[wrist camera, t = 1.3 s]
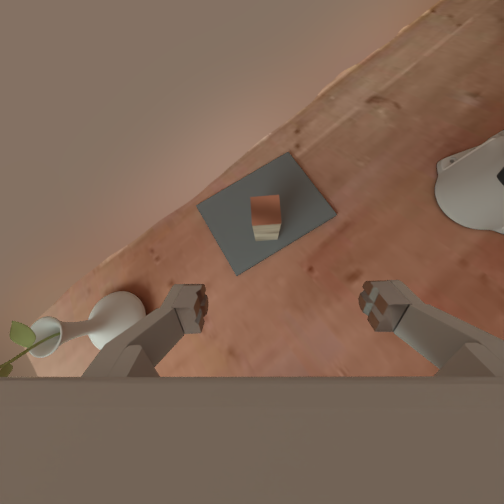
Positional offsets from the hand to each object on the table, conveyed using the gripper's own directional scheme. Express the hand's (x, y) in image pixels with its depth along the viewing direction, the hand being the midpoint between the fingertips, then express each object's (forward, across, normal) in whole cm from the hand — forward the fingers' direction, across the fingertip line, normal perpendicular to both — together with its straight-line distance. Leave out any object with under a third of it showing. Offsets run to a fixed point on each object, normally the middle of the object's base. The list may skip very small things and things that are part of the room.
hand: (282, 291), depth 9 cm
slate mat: (+31, 0, +6) cm, 32 cm away
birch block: (+28, 0, +9) cm, 29 cm away
